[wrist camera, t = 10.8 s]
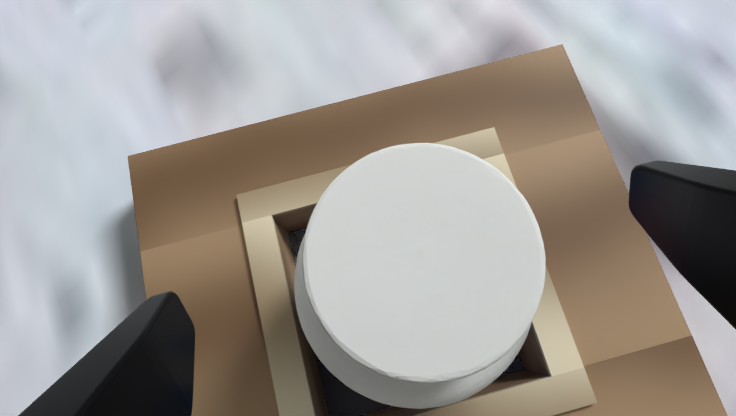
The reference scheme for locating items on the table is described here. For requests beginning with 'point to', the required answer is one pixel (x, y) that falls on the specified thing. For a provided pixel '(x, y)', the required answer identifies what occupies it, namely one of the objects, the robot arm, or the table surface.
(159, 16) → the table surface
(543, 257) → the pill bottle
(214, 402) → the socket board
